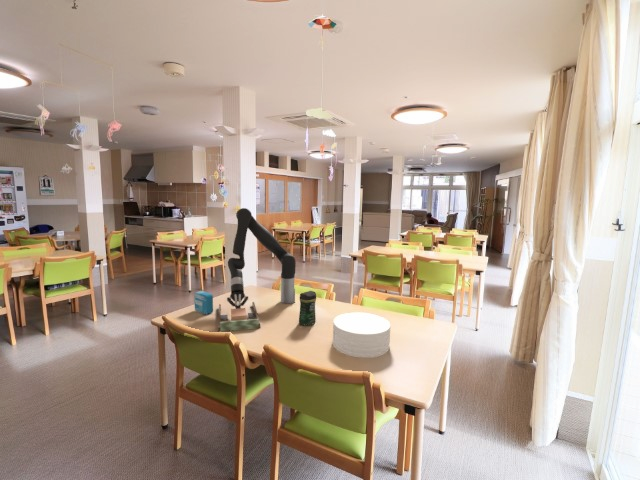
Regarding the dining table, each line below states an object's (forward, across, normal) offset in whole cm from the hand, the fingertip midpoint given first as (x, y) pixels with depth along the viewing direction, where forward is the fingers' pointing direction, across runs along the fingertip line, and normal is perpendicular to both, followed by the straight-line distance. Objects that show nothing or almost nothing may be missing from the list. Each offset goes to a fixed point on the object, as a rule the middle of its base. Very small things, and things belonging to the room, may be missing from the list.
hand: (238, 312), depth 190 cm
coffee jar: (+14, +38, -7) cm, 41 cm away
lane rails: (+1, 0, +6) cm, 6 cm away
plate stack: (+36, +58, -30) cm, 74 cm away
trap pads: (0, 0, +6) cm, 6 cm away
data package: (-9, -20, +16) cm, 27 cm away
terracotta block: (+8, 0, -1) cm, 8 cm away
